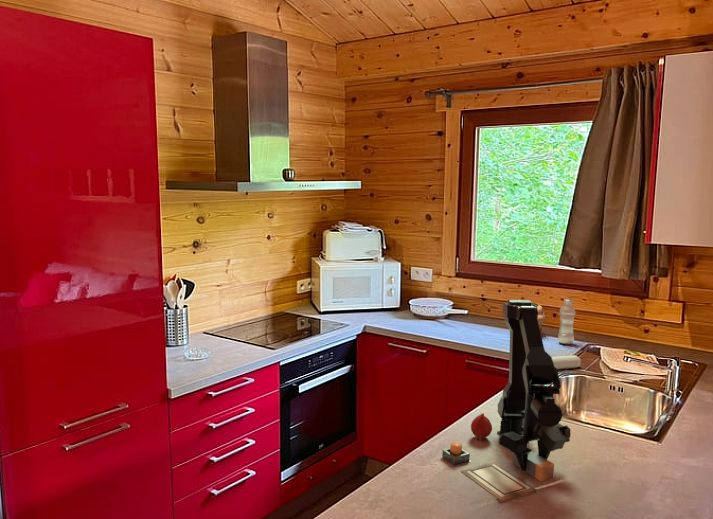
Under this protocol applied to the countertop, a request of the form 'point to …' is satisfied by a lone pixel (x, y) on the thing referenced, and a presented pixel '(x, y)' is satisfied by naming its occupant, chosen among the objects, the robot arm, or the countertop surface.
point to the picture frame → (499, 481)
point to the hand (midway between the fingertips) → (532, 468)
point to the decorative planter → (540, 316)
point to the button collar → (455, 457)
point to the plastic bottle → (566, 322)
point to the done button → (456, 448)
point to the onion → (481, 427)
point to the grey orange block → (537, 466)
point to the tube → (566, 362)
